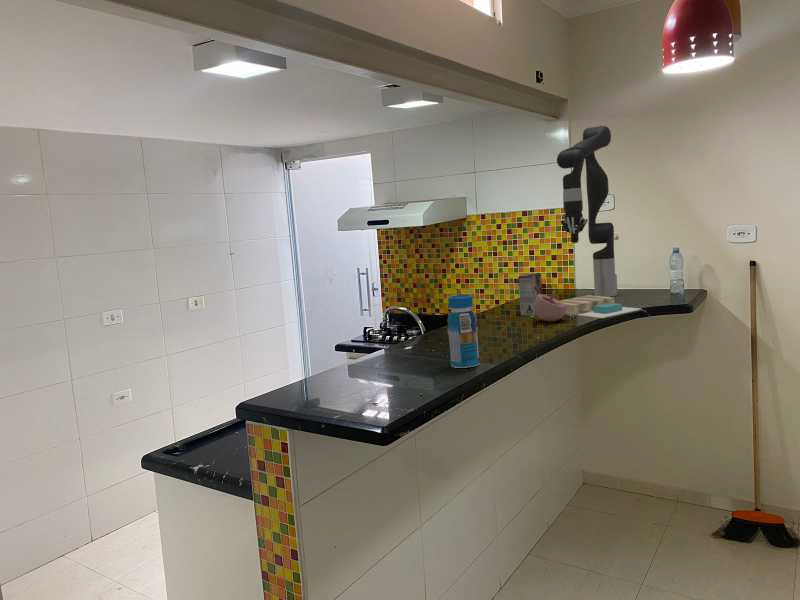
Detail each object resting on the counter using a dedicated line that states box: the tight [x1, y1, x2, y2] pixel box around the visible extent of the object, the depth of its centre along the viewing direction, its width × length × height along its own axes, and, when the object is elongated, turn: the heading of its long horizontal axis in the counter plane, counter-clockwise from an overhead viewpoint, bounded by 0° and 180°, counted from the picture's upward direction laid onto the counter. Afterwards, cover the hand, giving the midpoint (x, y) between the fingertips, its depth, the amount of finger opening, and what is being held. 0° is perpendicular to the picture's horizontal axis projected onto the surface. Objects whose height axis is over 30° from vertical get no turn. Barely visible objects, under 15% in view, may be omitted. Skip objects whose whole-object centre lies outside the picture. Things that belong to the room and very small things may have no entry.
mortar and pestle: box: [534, 290, 567, 323], centre depth 228 cm, size 12×12×11 cm
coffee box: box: [517, 272, 543, 317], centre depth 248 cm, size 9×6×16 cm
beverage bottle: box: [446, 294, 481, 369], centre depth 171 cm, size 8×8×20 cm
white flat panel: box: [577, 306, 642, 319], centre depth 236 cm, size 22×12×1 cm, turn 120°
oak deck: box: [559, 294, 615, 316], centre depth 248 cm, size 22×14×4 cm, turn 120°
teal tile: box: [593, 303, 623, 314], centre depth 237 cm, size 9×6×2 cm, turn 120°
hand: (574, 242), depth 251 cm, fingers closed
